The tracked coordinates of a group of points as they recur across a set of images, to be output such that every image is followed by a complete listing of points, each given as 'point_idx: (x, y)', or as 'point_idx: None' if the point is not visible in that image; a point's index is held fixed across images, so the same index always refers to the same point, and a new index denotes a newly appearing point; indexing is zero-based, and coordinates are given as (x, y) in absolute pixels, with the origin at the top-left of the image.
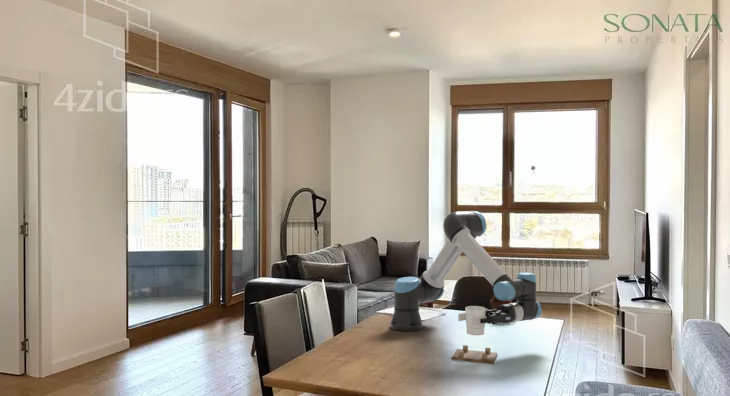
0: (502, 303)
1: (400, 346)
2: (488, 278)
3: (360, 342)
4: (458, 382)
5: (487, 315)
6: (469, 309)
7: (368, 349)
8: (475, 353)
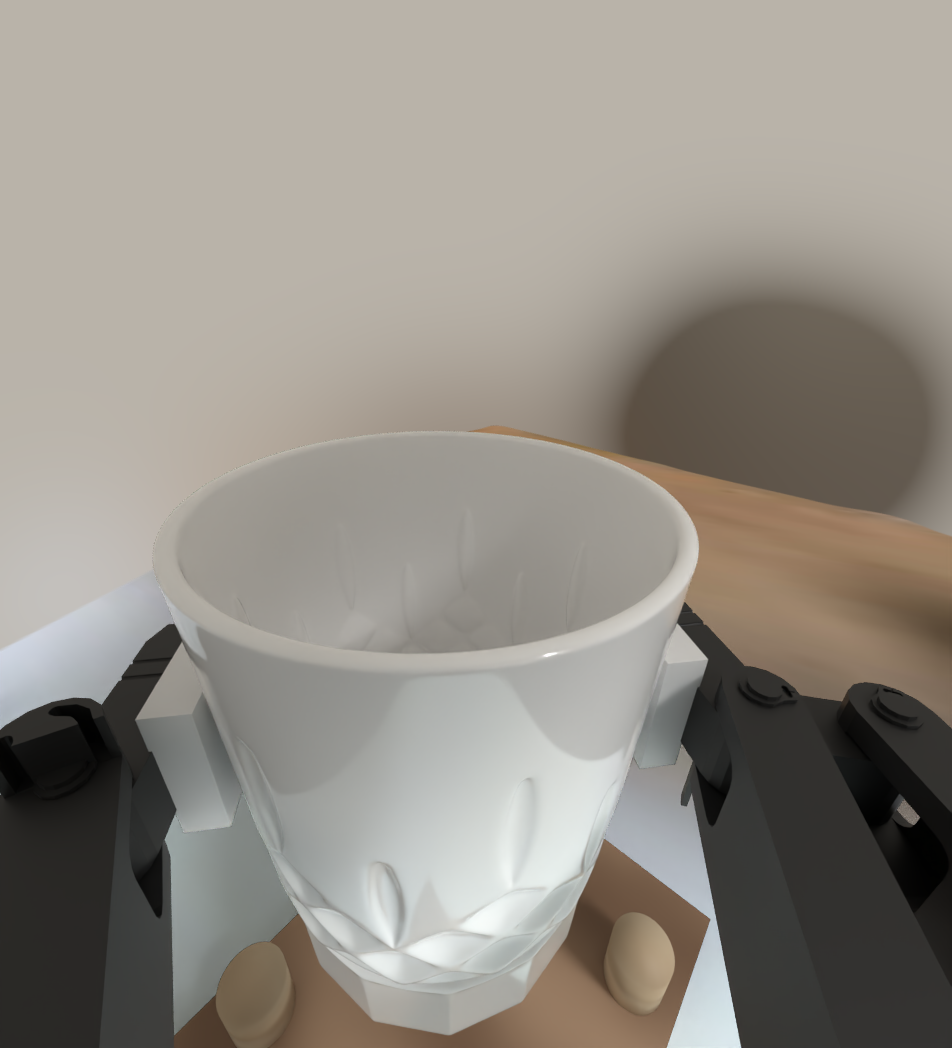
0: None
1: (787, 629)
2: None
3: (820, 544)
4: (156, 620)
5: (87, 709)
6: (384, 433)
7: (708, 540)
8: (498, 1046)
